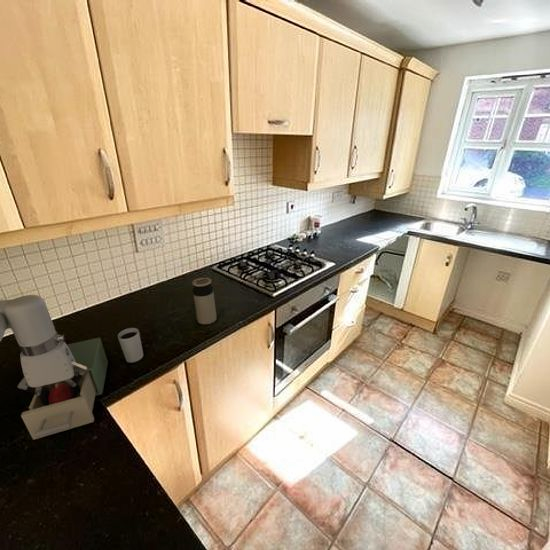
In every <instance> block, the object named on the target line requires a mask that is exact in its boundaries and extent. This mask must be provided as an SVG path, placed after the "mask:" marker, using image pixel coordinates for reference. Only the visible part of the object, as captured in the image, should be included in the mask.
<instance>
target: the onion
mask: <svg viewBox="0 0 550 550" xmlns="http://www.w3.org/2000/svg"><path fill="white" fill-rule="evenodd" d="M70 399H73V396H72V394H71V391H70V386H69V385H67V384H59V383H56V384H55V387H54V388H53V389H52V390H51V392H50V393H49V396H48V400H49V404H50V405H51V404H55V403H59V402H63V401H66V400H70Z"/></svg>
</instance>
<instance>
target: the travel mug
mask: <svg viewBox="0 0 550 550" xmlns="http://www.w3.org/2000/svg"><path fill="white" fill-rule="evenodd" d="M191 283H192V284H191V285H193V288H192V295H193V301H194V308H195V313H196V321H197V323H198V324H200V325H211V324H212V323H213V324H214V322H215V321H216V320H218V319H217V309H216V302H215V294H214V286H213V285H212V279H211V278H209V277H199V278H196V279H193V280H192V282H191Z"/></svg>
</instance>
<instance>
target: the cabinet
mask: <svg viewBox="0 0 550 550" xmlns="http://www.w3.org/2000/svg"><path fill="white" fill-rule="evenodd" d="M66 345H67V346H68V348H69V349H70V351H71V353H72V355H73V357H74V359H75V361H76V363H78V364H81V365H83V366H86V367H87V368H88V369H87V371H91V374H92V376H93V379H94V382H95V385H96V388H97V389H96V394H95V397H98V396H100V395H103V393H104V386H105V381H106V375H107V369H108V364H109V361H108V358H107V355H106V352H105V348H104V346H103V342H102V339H101V337H96V338H90V339H87V340H86V339H85V340H82V341H78V342H72V343H68V344H66ZM78 372H79V371H76V370H74V374H77V373H78Z"/></svg>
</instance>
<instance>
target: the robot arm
mask: <svg viewBox="0 0 550 550" xmlns="http://www.w3.org/2000/svg"><path fill="white" fill-rule="evenodd" d="M8 329H10V330H11V331H12V334H13V335H14V337H15V340H16V342H17V344H18V347H19V349H20V351H21V352H20V354H19V356H20V357H19V358H20V364H21V365H20V366H21V368H22V370H21V371H22V374H23V377H22V378H21V379H20V381H19V383H18V385H17V388H18V389H21V390H24V391H25V390H26V391H27V392H29V393H33V394H34V395H36V396H39V398H40V400H41V402H42V403H44V405H45V406H48V405H49V400H48V396H49V391H48V388H46V387H44V385H48V384H52V383H56V382H60V381H64V380H65V381H66V382H67V383H68V384H70V385H71V386H70V391H71V394H72V396H73V399H74V398H77V396H78V393H80V387H79V385H78V382H79V380H80V379H81V378H82V376H83V375H84V374H85V373H86V372H87V369H88V368H87V367H86V366H83V365H81V364H78V363H76V361H75V359H74V357H73V355H72V353H71V351H70V349H69V348H68V346H67V345H68V344H67V343H66V342H65V340H66V336H65V334H59V333H58V331H56V328H55V325H54V322H53V320H52V317H51V315H50V312H49V309H48V306H47V303H46V301H45V299H44V298H43V296H40V295H37V294H27V295H26V294H25V295H22V296H19V297H16V298H15V297H14V298H12V299H11V298H10V299H2V300H1V299H0V343H1V342H2V340H3V338H4V335H5V333H6V330H8ZM74 370H76V371H79V372H78V373H77V374H76V375H75V374H74Z"/></svg>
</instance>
